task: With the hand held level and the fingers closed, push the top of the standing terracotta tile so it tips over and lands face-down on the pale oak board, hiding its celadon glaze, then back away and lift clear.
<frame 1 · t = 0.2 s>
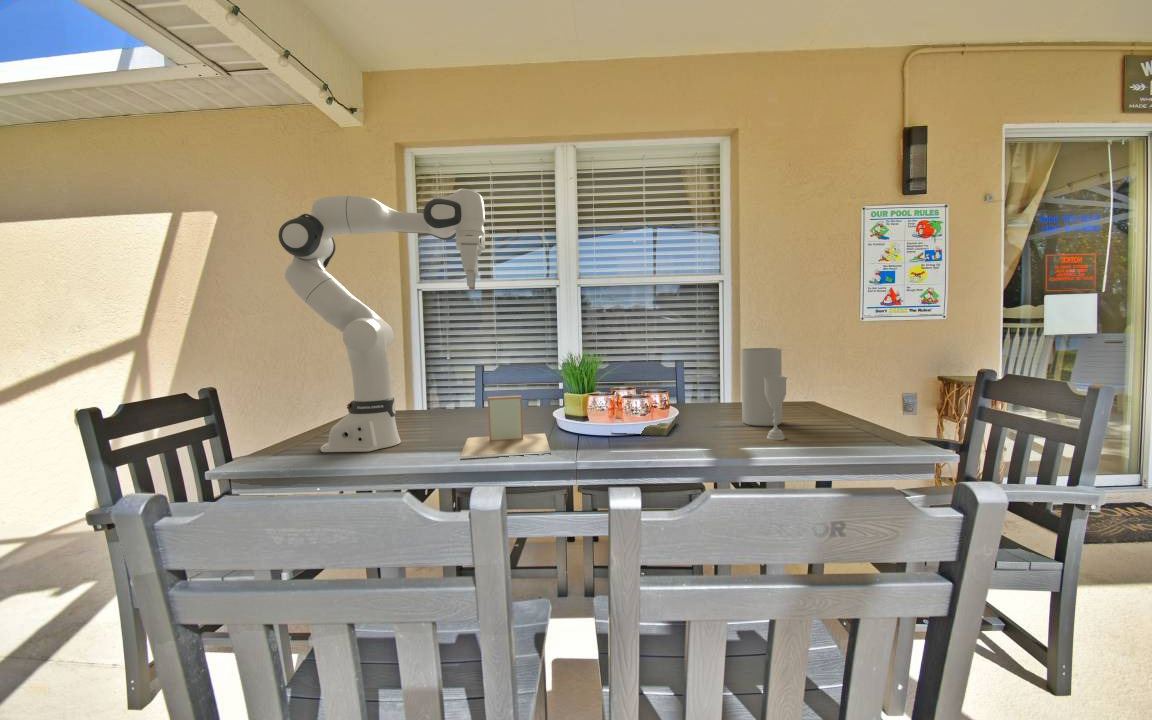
hand: (471, 288, 157), 47 cm above the table, tool pointing down, fingers open, 8 cm apart
oak board: (506, 447, 147), on the table
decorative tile: (643, 430, 168), on the table
cylinder vase: (761, 423, 170), on the table
terracotta tile: (506, 439, 153), point 1 cm above the table, touching oak board
chalice: (775, 438, 147), on the table
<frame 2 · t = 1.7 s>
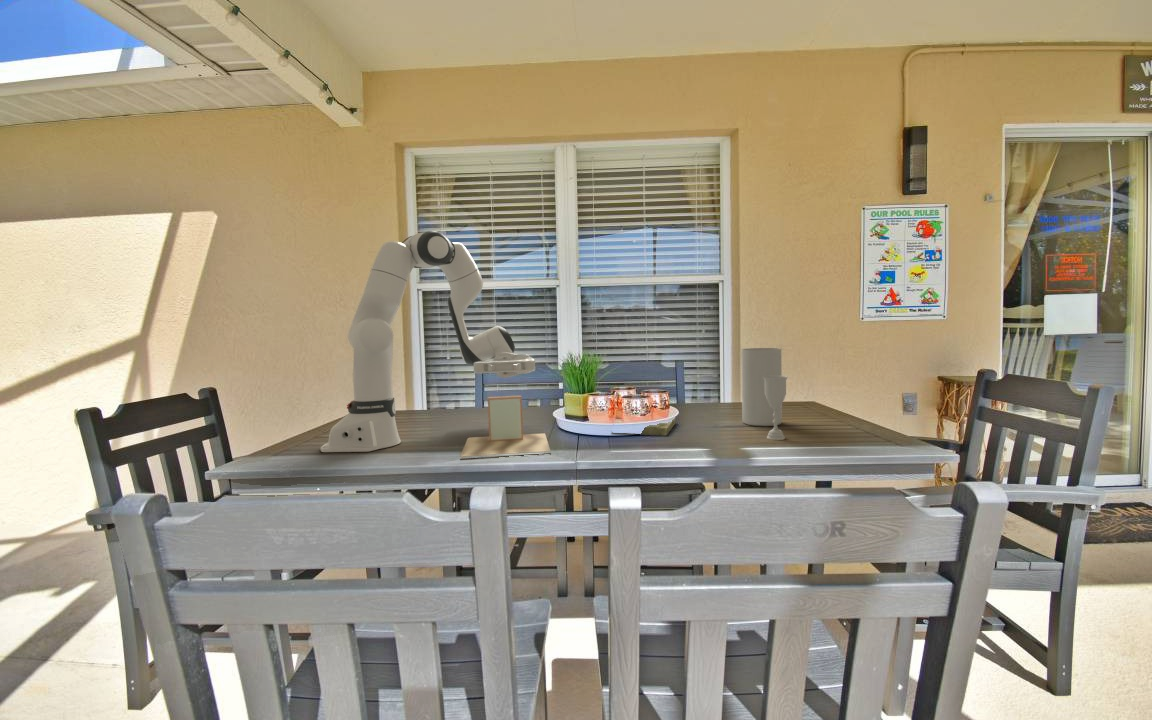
hand: (504, 367, 161), 22 cm above the table, tool horizontal, fingers open, 6 cm apart
nothing on the table moved.
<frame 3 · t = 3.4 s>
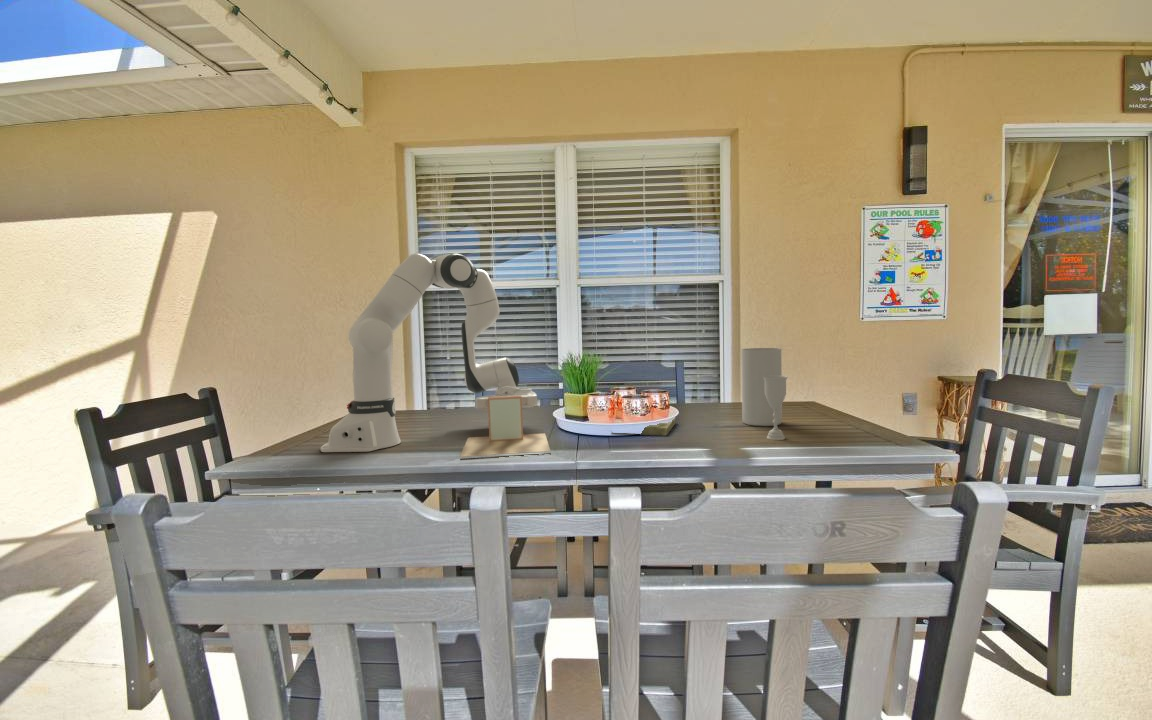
hand: (506, 404, 160), 11 cm above the table, tool horizontal, fingers closed
nothing on the table moved.
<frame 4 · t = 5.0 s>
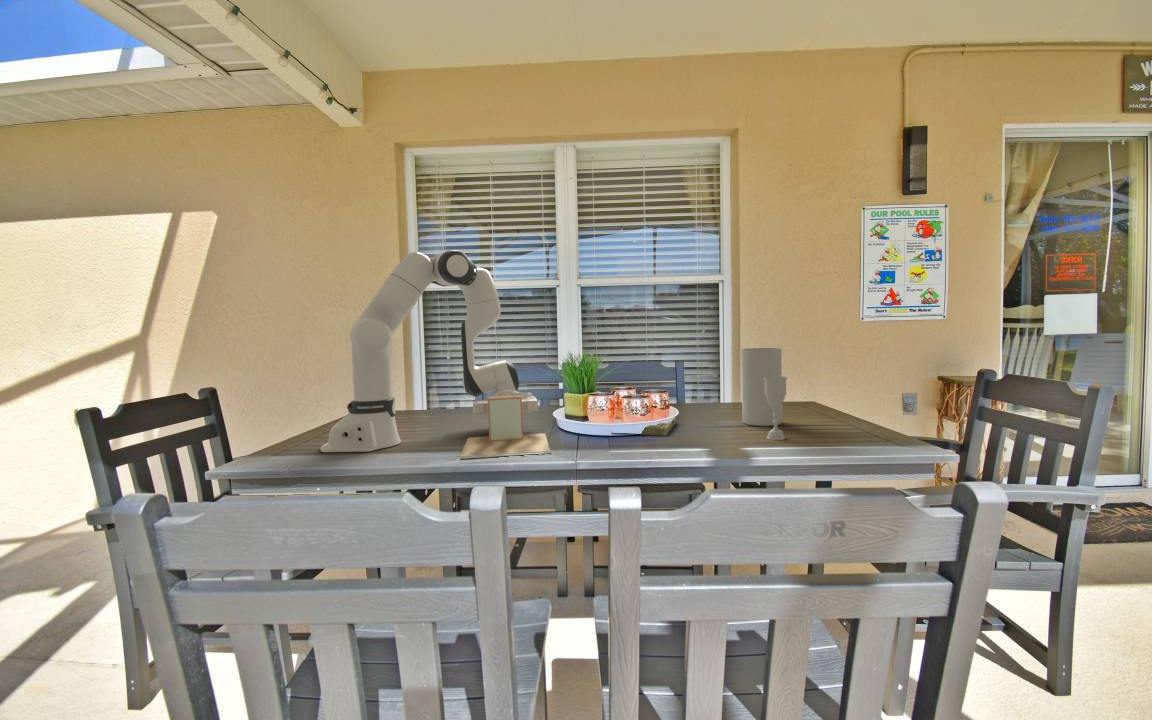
hand: (505, 409, 154), 10 cm above the table, tool horizontal, fingers closed
terracotta tile: (506, 439, 153), point 1 cm above the table, touching gripper, oak board
everything else where it was.
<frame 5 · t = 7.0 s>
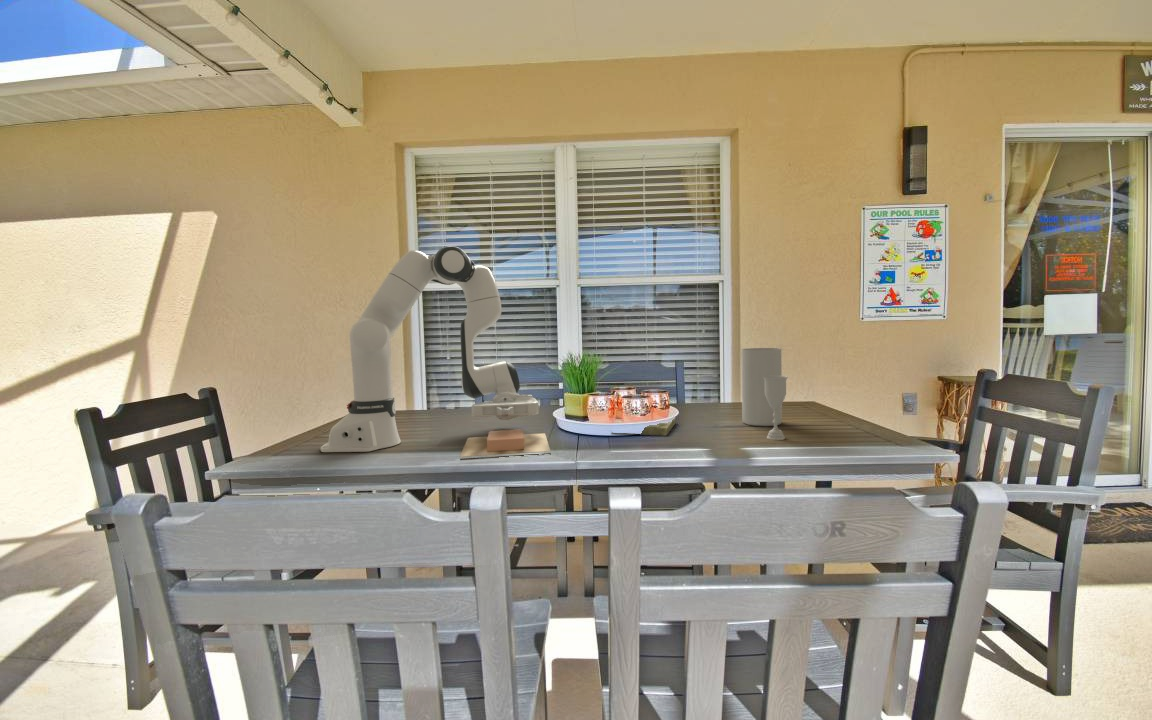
hand: (504, 412, 148), 10 cm above the table, tool horizontal, fingers closed
terracotta tile: (506, 435, 151), point 3 cm above the table, tilted 90°, touching oak board
everything else where it was.
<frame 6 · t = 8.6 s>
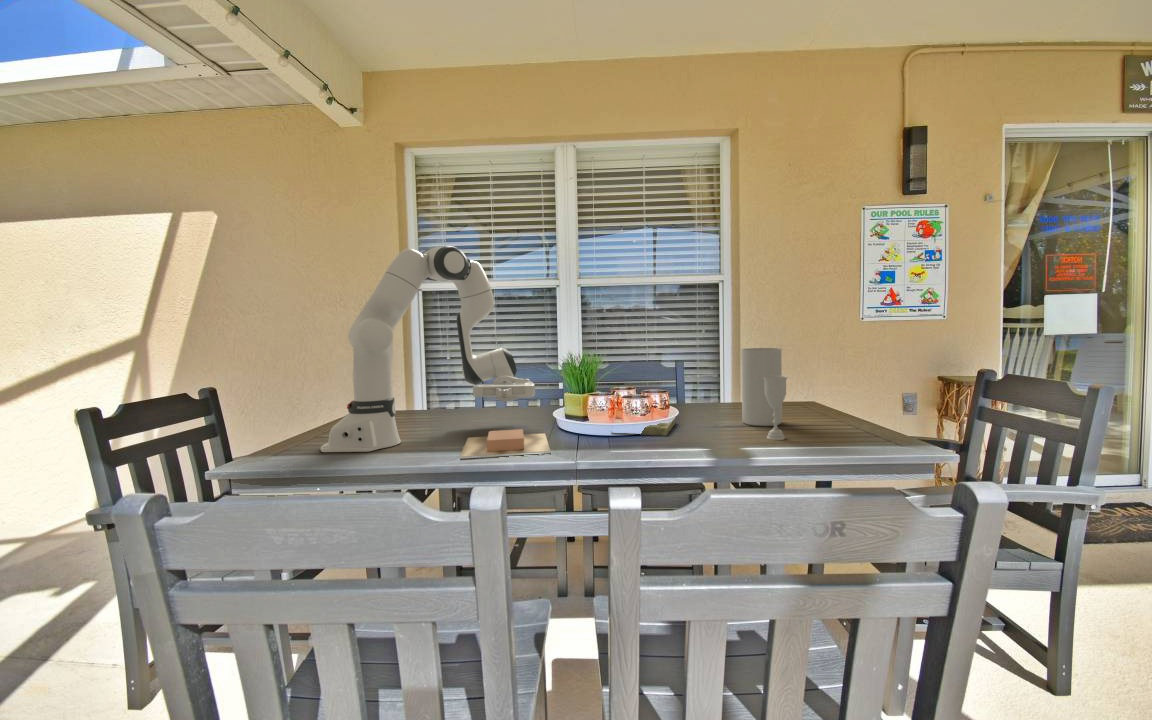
hand: (503, 392, 160), 14 cm above the table, tool horizontal, fingers closed
nothing on the table moved.
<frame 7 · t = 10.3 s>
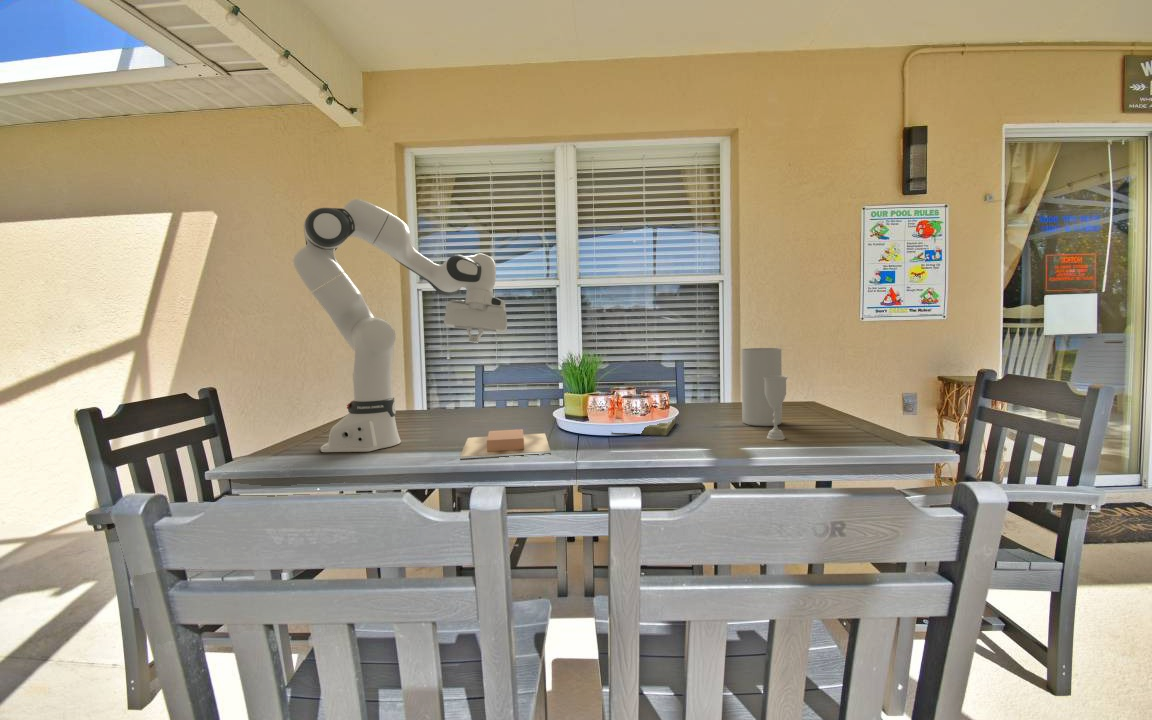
hand: (473, 342, 164), 31 cm above the table, tool tilted 20°, fingers closed
nothing on the table moved.
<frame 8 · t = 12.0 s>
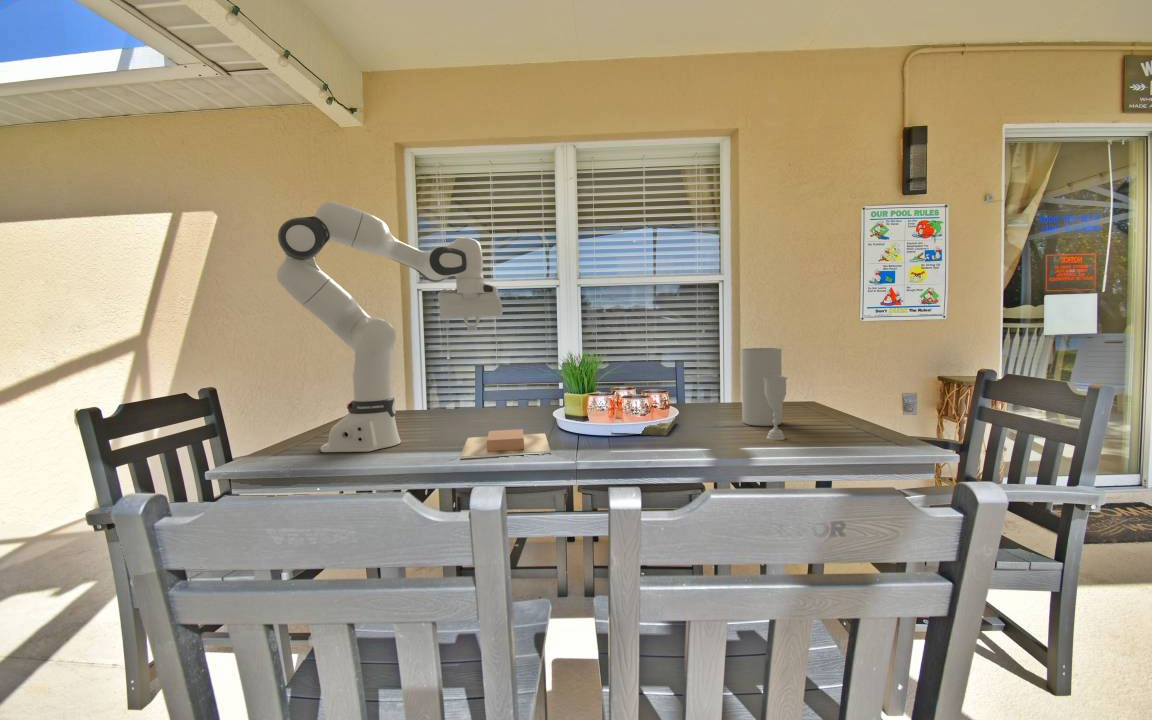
hand: (472, 331, 166), 34 cm above the table, tool pointing down, fingers closed
nothing on the table moved.
at the end: terracotta tile tilted 90°; terracotta tile inside the target area (2.8 cm from its centre), point 2.7 cm above the table; terracotta tile touching oak board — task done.
